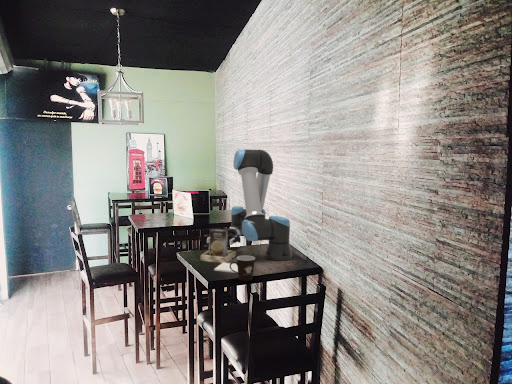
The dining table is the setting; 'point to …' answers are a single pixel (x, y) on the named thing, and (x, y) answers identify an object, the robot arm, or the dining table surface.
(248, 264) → the coffee mug
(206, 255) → the pocket frame
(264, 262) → the dining table surface
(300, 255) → the dining table surface
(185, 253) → the dining table surface
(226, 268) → the white napkin
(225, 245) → the coffee box
